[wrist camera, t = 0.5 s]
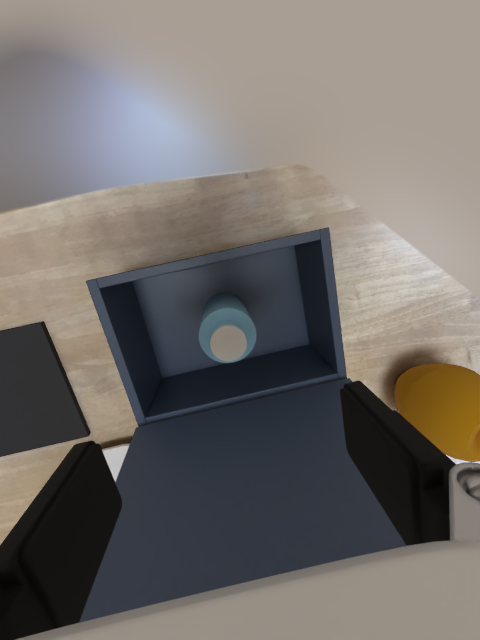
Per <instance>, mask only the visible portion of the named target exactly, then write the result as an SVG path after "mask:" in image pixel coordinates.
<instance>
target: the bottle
mask: <svg viewBox="0 0 480 640" xmlns="http://www.w3.org/2000/svg"><path fill="white" fill-rule="evenodd" d="M199 342H200V345H201V348H202V349H203V351H204V352H205V353H206V355H207V356H209V357H210V358H211V359H213V360H215V361H218V362H222V363H233V362H237V361H239V360H241V359H243V358H245V357H246V356H247V355H248V354H249V353H250V352H251V351H252V349H253V347H254V345H255V342H256V328H255V325H254V323H253V321H252V319H251V317H250V315H249V313H248V311H247V309H246V307H245V305H244V303H243V301H242V300H241V299H240V298H239V297H238V296H236V295H234V294H232V293H226V292H225V293H219V294H216V295H214V296H213V297H211V298H210V299H209V301H208V302H207V304H206V306H205V309H204V313H203V317H202V321H201V325H200V330H199Z"/></svg>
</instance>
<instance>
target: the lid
mask: <svg viewBox="0 0 480 640" xmlns="http://www.w3.org/2000/svg"><path fill="white" fill-rule="evenodd" d="M351 382H352V381H351V380H350V378H347V379H343V380H339V381H334V382H330V383H326V384H322V385H317V386H313V387H309V388H304V389H300V390H296V391H292V392H287V393H283V394H279V395H274V396H270V397H266V398H262V399H257V400H253V401H249V402H244V403H240V404H236V405H231V406H227V407H223V408H219V409H214V410H210V411H206V412H201V413H197V414H193V415H189V416H184V417H180V418H176V419H171V420H167V421H163V422H159V423H154V424H150V425H146V426H141V427H137V428H136V429H135V432H134V435H133V437H132V440H131V442H130V445H129V448H128V450H127V453H126V456H125V458H124V461H123V463H122V466H121V469H120V471H119V474H118V477H117V479H116V482H115V483H116V486H117V488H118V490H119V493H120V495H121V498H122V508H121V511H120V514H119V517H118V519H117V522H116V525H115V527H114V530H113V533H112V535H111V538H110V541H109V544H108V546H107V549H106V552H105V554H104V557H103V560H102V562H101V565H100V568H99V570H98V573H97V576H96V578H95V581H94V584H93V586H92V589H91V592H90V594H89V597H88V600H87V602H86V605H85V608H84V610H83V613H82V616H81V618H80V621H79V623H80V622H84V621H88V620H92V619H96V618H100V617H104V616H108V615H112V614H116V613H121V612H125V611H129V610H133V609H137V608H141V607H145V606H149V605H153V604H157V603H161V602H165V601H169V600H174V599H178V598H182V597H186V596H190V595H194V594H198V593H203V592H207V591H211V590H215V589H219V588H223V587H228V586H232V585H236V584H240V583H244V582H249V581H253V580H257V579H261V578H265V577H270V576H274V575H278V574H282V573H287V572H291V571H295V570H300V569H304V568H308V567H312V566H317V565H321V564H325V563H330V562H334V561H338V560H343V559H347V558H351V557H356V556H361V555H365V554H370V553H375V552H380V551H384V550H389V549H394V548H399V547H403V546H406V544H405V543H404V541H403V539H402V538H401V536H400V535H399V533H398V532H397V530H396V528H395V527H394V525H393V524H392V522H391V520H390V519H389V517H388V516H387V514H386V513H385V511H384V509H383V508H382V506H381V505H380V503H379V502H378V500H377V498H376V497H375V495H374V494H373V492H372V491H371V489H370V487H369V486H368V484H367V483H366V481H365V480H364V478H363V476H362V475H361V473H360V472H359V470H358V469H357V467H356V465H355V464H354V462H353V461H352V459H351V458H350V456H349V454H348V451H347V448H346V441H345V433H344V424H343V415H342V406H341V398H340V389H342V388H344V384H346V383H351Z"/></svg>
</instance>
